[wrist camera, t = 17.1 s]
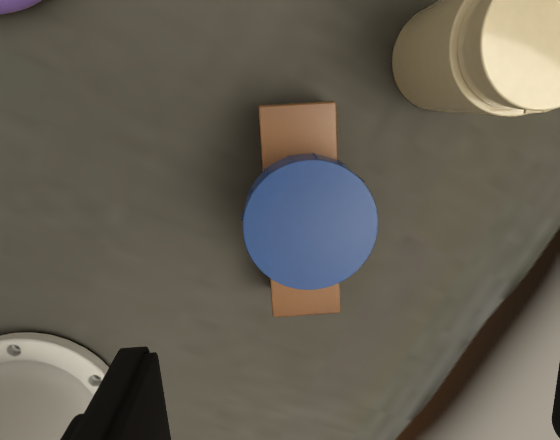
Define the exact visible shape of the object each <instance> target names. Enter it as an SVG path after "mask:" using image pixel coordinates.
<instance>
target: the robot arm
mask: <svg viewBox="0 0 560 440" xmlns="http://www.w3.org/2000/svg"><path fill="white" fill-rule="evenodd" d="M552 424H553V427H554V430H555V432H556V434H557V435H558V437H559V438H560V364H559V371H558V378H557V385H556V392H555V399H554V406H553V413H552ZM0 440H171V437H170V430H169V424H168V417H167V411H166V405H165V398H164V392H163V385H162V379H161V372H160V366H159V360H158V355H157V353H156V352H155V353H150V352H149V349H148V348H147V347H133V348H122V349H120V350H119V351H118V353H117V355H116V356H115V358H114V360H113V362H112V364H111V365H110V367H108V366H107V365H106V364H105V363H104V362H103V361H102V360H101V359H100V358H99V357H97V356H96V355H95V354H93V353H92V352H90V351H89V350H88V349H86V348H84V347H82V346H80V345H78V344H76V343H74V342H72V341H70V340H67V339H64V338H61V337H57V336H54V335H50V334H42V333H35V332H22V333H10V334H6V335H1V336H0Z"/></svg>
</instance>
